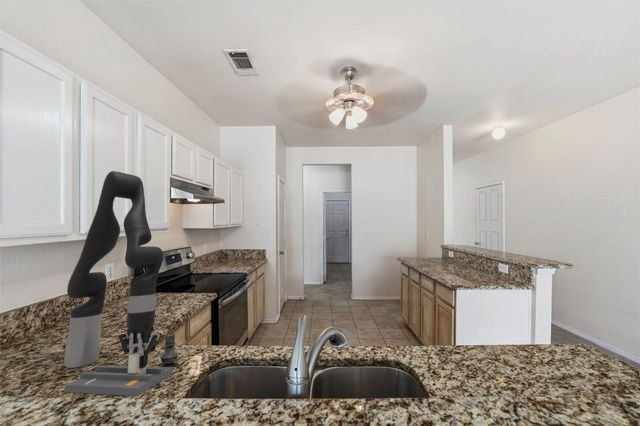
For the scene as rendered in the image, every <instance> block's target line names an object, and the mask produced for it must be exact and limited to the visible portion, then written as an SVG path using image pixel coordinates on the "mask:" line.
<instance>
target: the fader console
mask: <svg viewBox="0 0 640 426" xmlns="http://www.w3.org/2000/svg"><path fill="white" fill-rule="evenodd" d="M173 370H174V367H161V366H148V367H146V374H131V373H128V365H111V364H110V365H97V366H95V370H94V371H83V372H81V373H80V374H79V378H78V379H76V380H74V381H71V382H69V383H67V384H66V385H65V389H64V392H65V393H67V394H70V393H71V394H88V395H89V394H91V395H105V396H106V395H108V396H109V395H110V396H128V397H129V396H132V397H138V396H140V395H142V394H143V393H145V392H146V391H148V390H149V389H151V388H153V387H155V385H158V384H160V383H161V382H162V381H163V380H166V379H167V378H168V377H170V376H171V375H173Z"/></svg>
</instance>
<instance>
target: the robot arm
mask: <svg viewBox="0 0 640 426" xmlns="http://www.w3.org/2000/svg"><path fill="white" fill-rule="evenodd" d="M115 198H122V199H126V200H127V199H129V200H130V202H131V204H132V205H131V208H130V209H129V211H128V212H127V214H126V215H125V217H124V219H123V229H124V232H125V238H126V249H125V251H126V252H125V256H124V261H125V262H124V263H125V265H126V266H127V267H128V268H130V269H135V270H137V269H146V270H145V272H144V273H143V274H141V275H138V276H134V277H132V278H131V279H130V283H129V297H128V302H127V312H126V313H127V314H126V327H127V330H126V332H125V333H122V334H119V335H118V338H119V342H120V345H121V347H122V351H123V353H124V354H128V356H129V355H131V354H133V353H135V352H138V351H140V355H141V356H140V360H139V369H142V368H144V367H146V365H147V364H148V365H149V358H148V354H149V355H150V353H152V352H155V350H156V348H157V346H158V345H159V341H160V340H161V337H162V333H161V332H159V333H158V332H156V331H155V328H154V324H155V322H156V310H157V309H156V307H157V306H156V305H157V296H156V288H157V287H156V286H157V279H158V276H159V273H160V269H161V267H162V264H163V262H164V252H163V250H162V248H161V247H158V246H144V245H146V244H149V243H150V242H151V240H152V232H151V229H150V226H149V223H148V219H147V214H146V213H147V212H146V199H145V189H144V184H143V181H142V179H141V178H140V176H138V175H134V174H130V173H126V172H122V171H116V170H112V171H109V172H108V173H107V174H106V176H105V178H104V181H103V184H102V189H101V193H100V196H99V199H98V204H97V207H96V211H95V214H94V216H93V219H92V222H91V225H90V227H89V229H88V232H87V235H86V238H85V241H84V245H83V248H82V251H81V252H80V257H79V259H78V261H77V263H76V265H75V267H74V269H73V272H72V273H71V276H70V278H69V281H68V284H67V290H66V292H67V295H68V297H69V298H71V299H82V298H89V299H88V300H87V301H86V302H85V303H82V304H81V305H79V306H77V307H74V308H73V309H72V310H71V311H70V318H69V321H70V322H69V331H68V337H67V338H66V339H65V350H64V359H63V366H64V367H65V368H67V369H73V368H81V367H85V366H88V365H89V366H90V365H92V364H94V363H96V362H98V361H99V357H100V347H101V346H100V345H101V344H100V343H101V335H102V334H101V332H102V331H101V330H102V318H103V317H102V316H103V308H104V306H105V305H104V304H105V297H106V290H107V284H108V283H107V282H108V281H107V275H106V274H105V272H102V271H97V272H90V271H91V270H92V269H93V267H94V266H95V265H96V264H97V263H99V262H100V261H101V260H102V259H103V258H104V257H106V256H107V255H108V254H110V252H112V250H114V248H115V247H116V244H117V243H118V240H119V237H120V234H121V225H120V223H119V221H118V219H117V216H116V214H115V212H114V201H115Z"/></svg>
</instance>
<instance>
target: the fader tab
mask: <svg viewBox="0 0 640 426" xmlns="http://www.w3.org/2000/svg"><path fill="white" fill-rule="evenodd" d="M149 355H150V353H149V354H148V359H149V357H150V356H149ZM140 356H141V355H140V350H139V351H138V352H135V353H133V354H131V355H129V354H128V361H127V362H128V364H127V366H128V373H131V374H146V367H149V363H148V364H147V365H146V367H144V368H142V369H139V360H140Z"/></svg>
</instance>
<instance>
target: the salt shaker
mask: <svg viewBox="0 0 640 426" xmlns="http://www.w3.org/2000/svg"><path fill="white" fill-rule="evenodd" d="M175 337H176V335H175V333H173V332H172V329H171V330H169V332H168V333H167V334H166V335H165V343H164V345H163V346H164V352H163V354H161V355H160V357H159V359H160V361H161V366H160V367H173V368H175V367H177V365H178V363H177V359H178V356H179V352H177V351H176V350H175V346H176V342H175ZM176 363H177V364H176Z"/></svg>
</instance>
